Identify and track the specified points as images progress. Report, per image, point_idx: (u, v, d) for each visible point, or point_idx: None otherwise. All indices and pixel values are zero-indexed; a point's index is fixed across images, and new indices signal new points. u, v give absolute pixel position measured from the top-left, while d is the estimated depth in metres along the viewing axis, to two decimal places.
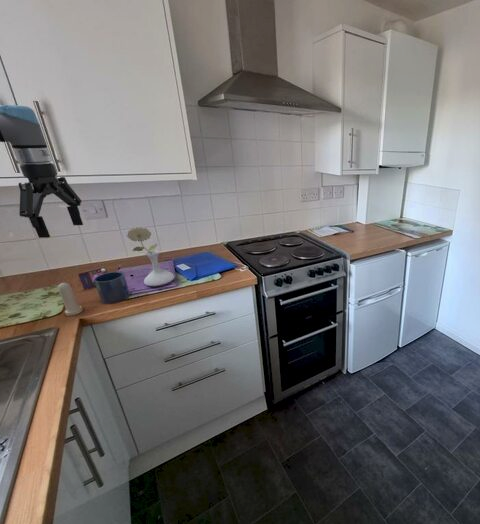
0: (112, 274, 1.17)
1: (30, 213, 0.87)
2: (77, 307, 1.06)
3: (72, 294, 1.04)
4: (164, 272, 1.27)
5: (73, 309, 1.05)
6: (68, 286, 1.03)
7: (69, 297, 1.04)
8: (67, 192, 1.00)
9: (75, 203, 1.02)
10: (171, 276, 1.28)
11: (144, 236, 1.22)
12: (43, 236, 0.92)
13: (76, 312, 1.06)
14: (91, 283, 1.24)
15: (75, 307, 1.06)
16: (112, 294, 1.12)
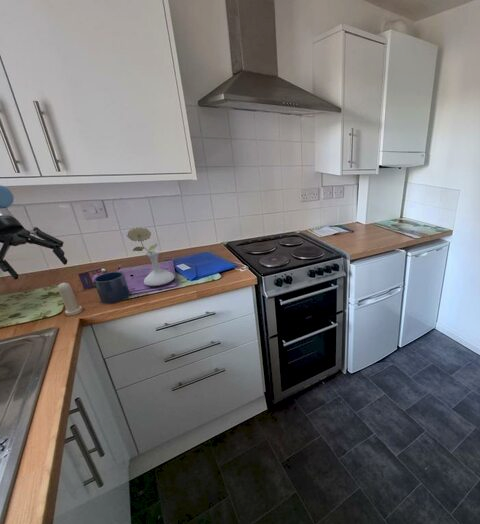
0: (112, 274, 1.17)
1: None
2: (77, 307, 1.06)
3: (72, 294, 1.04)
4: (164, 272, 1.27)
5: (73, 309, 1.05)
6: (68, 286, 1.03)
7: (69, 297, 1.04)
8: None
9: None
10: (171, 276, 1.28)
11: (144, 236, 1.22)
12: None
13: (76, 312, 1.06)
14: (91, 283, 1.24)
15: (75, 307, 1.06)
16: (112, 294, 1.12)
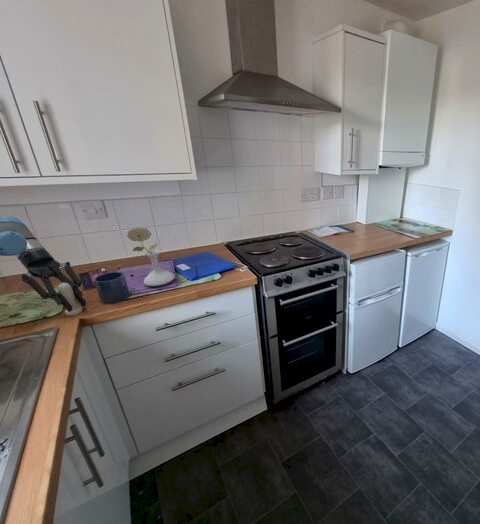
0: (112, 274, 1.17)
1: None
2: (77, 307, 1.06)
3: (72, 294, 1.04)
4: (164, 272, 1.27)
5: (73, 309, 1.05)
6: (68, 286, 1.03)
7: (69, 297, 1.04)
8: None
9: None
10: (171, 276, 1.28)
11: (144, 236, 1.22)
12: None
13: (76, 312, 1.06)
14: (91, 283, 1.24)
15: (75, 307, 1.06)
16: (112, 294, 1.12)
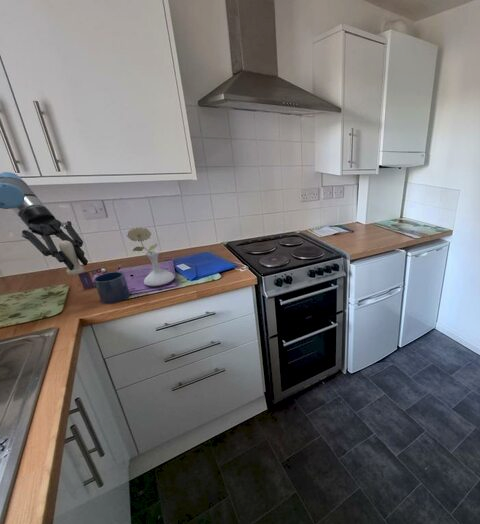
0: (112, 274, 1.17)
1: None
2: (79, 266, 1.04)
3: (74, 252, 1.02)
4: (164, 272, 1.27)
5: (75, 268, 1.03)
6: (69, 244, 1.01)
7: (71, 256, 1.02)
8: None
9: None
10: (171, 276, 1.28)
11: (144, 236, 1.22)
12: None
13: (78, 271, 1.04)
14: (91, 283, 1.24)
15: (77, 266, 1.04)
16: (112, 294, 1.12)
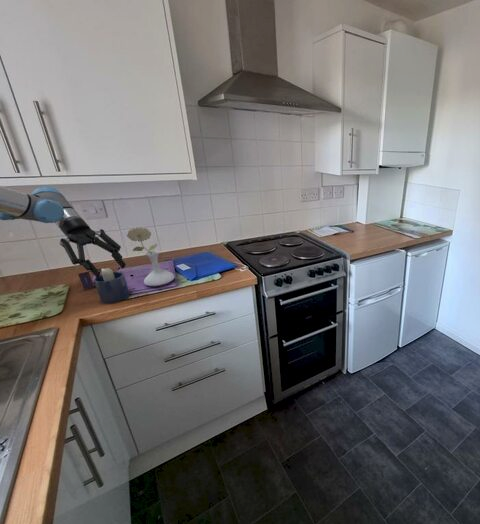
0: None
1: None
2: None
3: None
4: (164, 272, 1.27)
5: None
6: (111, 271, 1.13)
7: None
8: None
9: None
10: (171, 276, 1.28)
11: (144, 236, 1.22)
12: None
13: None
14: (91, 283, 1.24)
15: None
16: (112, 294, 1.12)
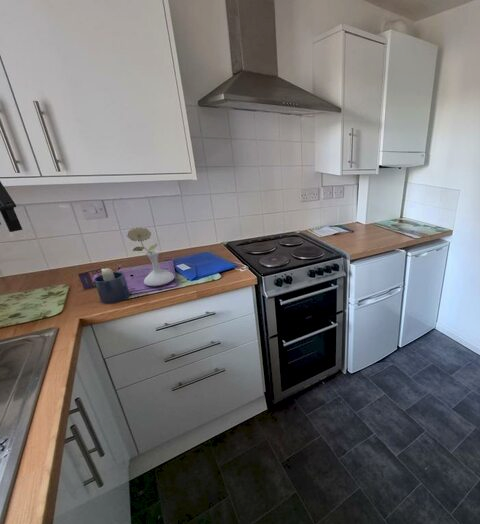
0: None
1: None
2: None
3: None
4: (164, 272, 1.27)
5: None
6: (111, 271, 1.13)
7: None
8: None
9: None
10: (171, 276, 1.28)
11: (144, 236, 1.22)
12: (16, 229, 0.90)
13: None
14: (91, 283, 1.24)
15: None
16: (112, 294, 1.12)
